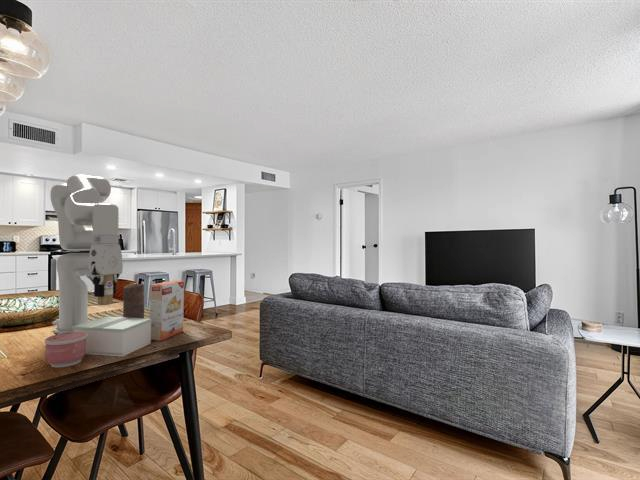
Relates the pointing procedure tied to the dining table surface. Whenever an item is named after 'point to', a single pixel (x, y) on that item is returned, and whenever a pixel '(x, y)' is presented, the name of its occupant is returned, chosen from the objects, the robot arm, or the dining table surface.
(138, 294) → the candle
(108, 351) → the box
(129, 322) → the lid
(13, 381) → the dining table surface
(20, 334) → the dining table surface
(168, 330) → the cracker box
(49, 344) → the container
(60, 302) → the robot arm
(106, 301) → the sprinkles bottle
